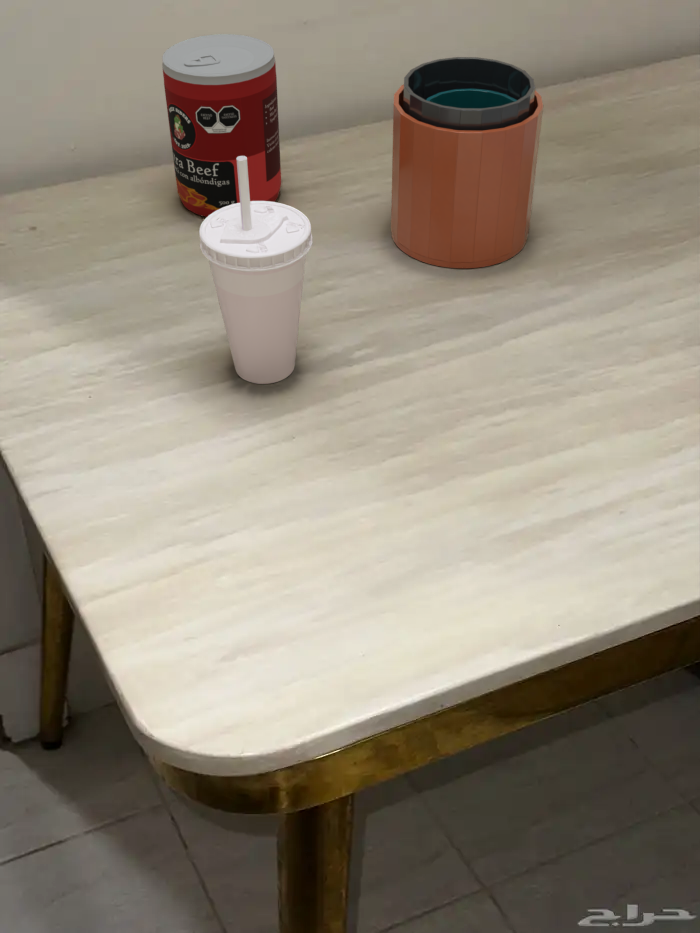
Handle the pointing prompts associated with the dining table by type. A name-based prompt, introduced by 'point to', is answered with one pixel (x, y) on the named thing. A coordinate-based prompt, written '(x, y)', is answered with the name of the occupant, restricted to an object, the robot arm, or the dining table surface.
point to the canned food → (222, 119)
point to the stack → (462, 189)
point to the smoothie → (258, 279)
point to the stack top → (468, 76)
